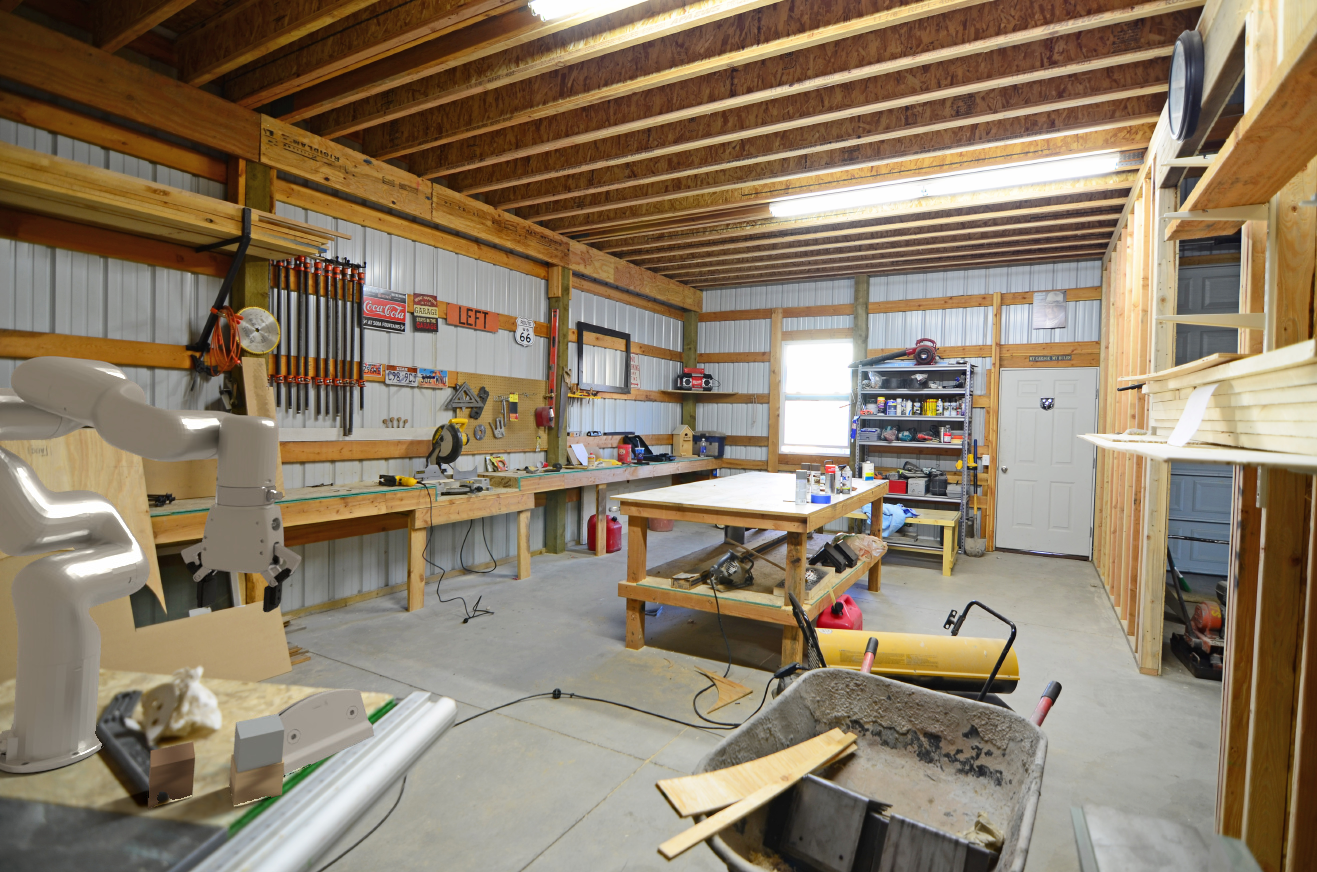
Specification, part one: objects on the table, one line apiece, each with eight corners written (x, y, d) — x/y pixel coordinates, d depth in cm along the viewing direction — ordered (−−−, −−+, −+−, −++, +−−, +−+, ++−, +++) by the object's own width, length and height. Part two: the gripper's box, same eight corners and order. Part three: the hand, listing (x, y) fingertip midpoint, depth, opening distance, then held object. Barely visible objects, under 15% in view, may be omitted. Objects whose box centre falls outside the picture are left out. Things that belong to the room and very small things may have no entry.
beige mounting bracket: (282, 778, 97) (274, 712, 98) (265, 777, 99) (257, 713, 100) (376, 734, 111) (367, 677, 113) (359, 735, 114) (351, 679, 115)
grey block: (237, 772, 89) (240, 738, 89) (233, 754, 93) (235, 722, 93) (281, 761, 93) (284, 729, 93) (275, 744, 97) (278, 713, 97)
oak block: (233, 808, 89) (236, 774, 89) (229, 786, 94) (231, 754, 94) (281, 794, 93) (284, 762, 93) (275, 774, 98) (277, 743, 97)
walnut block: (147, 808, 87) (150, 767, 87) (148, 790, 91) (150, 750, 91) (192, 797, 90) (195, 757, 90) (190, 780, 94) (193, 741, 94)
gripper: (316, 497, 99) (309, 603, 99) (204, 489, 98) (198, 596, 98) (289, 504, 91) (282, 619, 92) (168, 495, 90) (162, 611, 91)
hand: (238, 607), depth 95 cm, fingers open, 9 cm apart
